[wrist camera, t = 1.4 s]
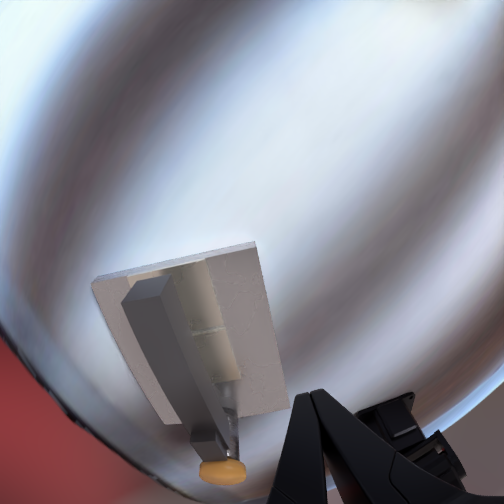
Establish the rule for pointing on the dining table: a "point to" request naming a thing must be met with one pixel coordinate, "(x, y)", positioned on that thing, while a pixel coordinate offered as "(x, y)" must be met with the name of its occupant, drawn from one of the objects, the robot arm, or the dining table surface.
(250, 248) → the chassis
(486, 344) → the dining table surface
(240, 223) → the dining table surface
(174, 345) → the bar
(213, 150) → the dining table surface
